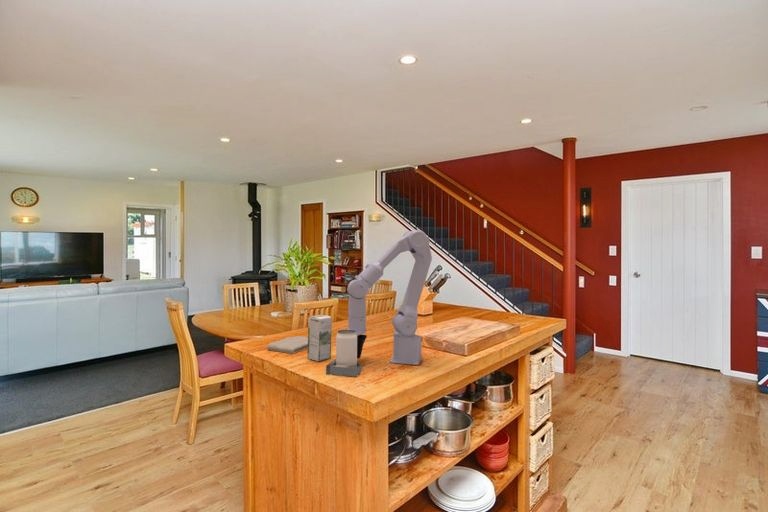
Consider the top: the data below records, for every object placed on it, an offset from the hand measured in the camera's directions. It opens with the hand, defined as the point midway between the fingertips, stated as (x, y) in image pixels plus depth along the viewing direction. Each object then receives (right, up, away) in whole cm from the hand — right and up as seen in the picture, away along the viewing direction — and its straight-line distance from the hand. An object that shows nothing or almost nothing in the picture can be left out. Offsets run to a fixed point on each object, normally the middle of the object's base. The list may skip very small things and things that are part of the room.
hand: (356, 357), depth 129 cm
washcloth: (-25, -2, +20) cm, 32 cm away
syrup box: (-13, -2, +4) cm, 14 cm away
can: (-3, -2, -8) cm, 8 cm away
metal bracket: (-1, -2, -3) cm, 4 cm away
